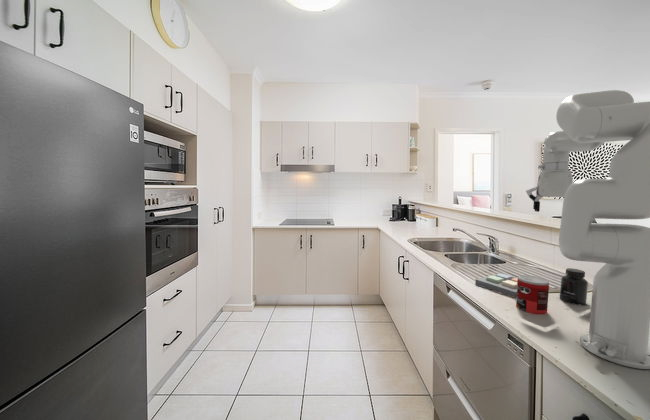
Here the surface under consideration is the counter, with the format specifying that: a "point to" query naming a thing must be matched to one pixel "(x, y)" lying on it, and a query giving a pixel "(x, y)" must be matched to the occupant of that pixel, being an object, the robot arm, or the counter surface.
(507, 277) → the slate key
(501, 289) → the keypad
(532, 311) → the canned food
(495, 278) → the sage key
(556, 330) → the counter surface
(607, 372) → the counter surface
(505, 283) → the sand key
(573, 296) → the supplement bottle
